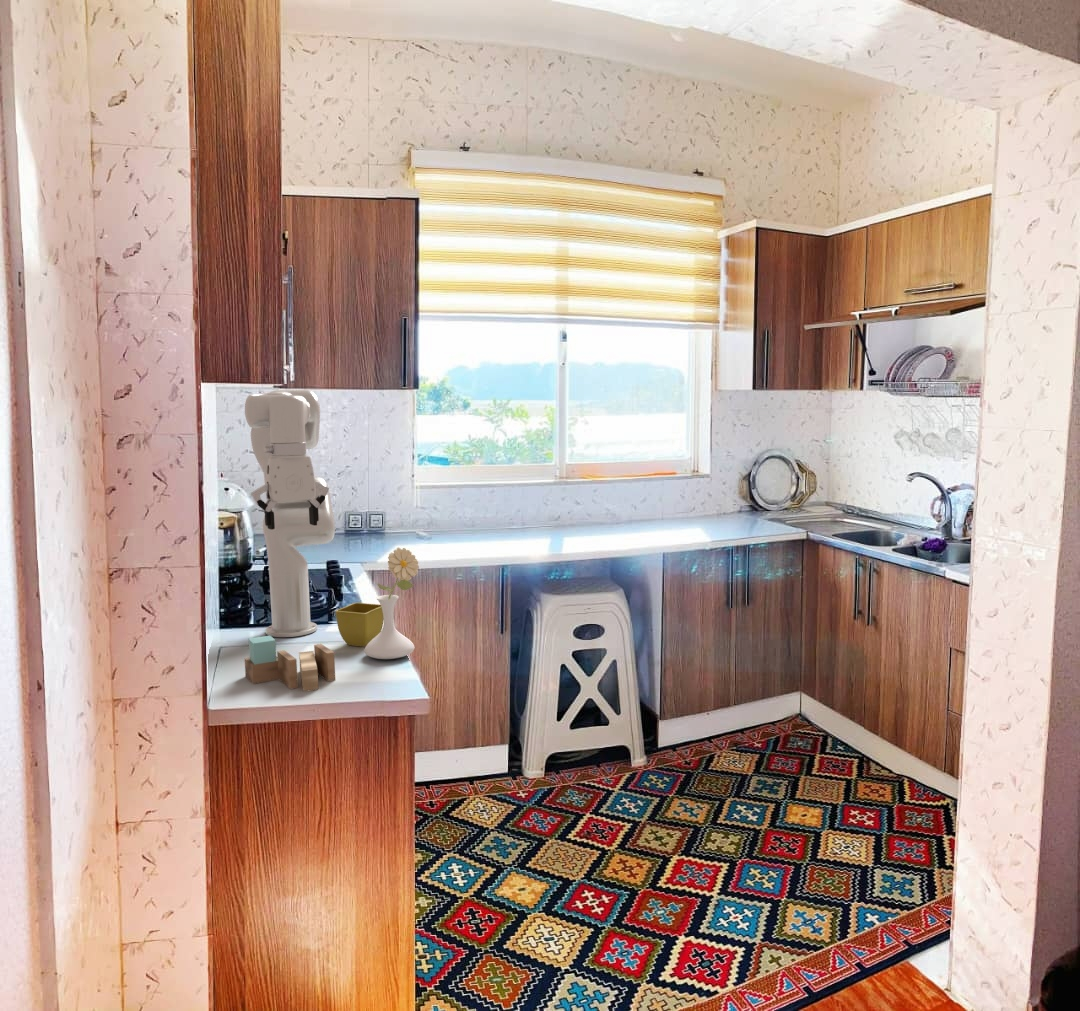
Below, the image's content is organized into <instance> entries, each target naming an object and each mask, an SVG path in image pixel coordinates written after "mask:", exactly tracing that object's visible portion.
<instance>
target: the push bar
mask: <svg viewBox="0 0 1080 1011" xmlns="http://www.w3.org/2000/svg"><path fill="white" fill-rule="evenodd" d="M298 656H299V671H300V679H301V686H302V691H303V692H309V691H308V690H311V691H316V690H315V689H319V677H318V676H319V674H318V670H317V665H316V660H315V652H314V650H309V651H308V650H307V651H299V652H298Z"/></svg>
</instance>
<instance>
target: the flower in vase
mask: <svg viewBox="0 0 1080 1011" xmlns="http://www.w3.org/2000/svg"><path fill="white" fill-rule="evenodd" d="M387 559H388V560H387V564H388V570H389V571H390V573H391V574H393V576H394V578H396V580H395V583H394V585H393V586H392V588H391V587H389V586H385V585H382V584H380V583H377V587H378V588H379V589H380V590H385V591H389V592H390V593H389V594H384V595H379V596H377V597H376V600H377V601H378V602H379V603H378V604H379V605H381V607H382V611H383V618H384V620H383V627H382V630H381V632H380V633H379V634H378V635H377V636H376V637H375V638H373V639H372V640H371V641H370V642H369V643H368V644H367V646H365V647H364V653H365V654H366V656H367V657H370V658H374V659H376V660H377V659H378V660H393V659H400V658H403V657H406V656H408V655H410V654H412V653H413V652H414V651H415V649H416V648H415V645H414V643H413V642H412V641H411V640H410V639H409V638H408V637H406V636H405V635H403V634H402V633H401V632H399V631H398V630H397V629H396V627H395V624H394V623H395V621H394V613H395V612H394V610H395V606H396V603H397V601H398V600H399V598H400V597H399V595H395V594H392V593H393V592H394V590H395V588H396V587H398V588H399V589H400V590H401V591H408V590H409V589H412V588H413V587H414V584H413V583H412V582H411V581H410V580H411V579H412V577H413V578H414V577H416V575H418V574H419V571H418V569H419V568H420V566H419V561H418V558H416V556H415V555H414V554H413V553H412V551H411V550H410V549H406V547H403V548H400V547H397V548H396V549H394V550H393V552H390V553H389V554H388V557H387ZM399 579H400V580H399ZM398 580H399V581H398Z"/></svg>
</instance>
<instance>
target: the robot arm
mask: <svg viewBox="0 0 1080 1011" xmlns="http://www.w3.org/2000/svg"><path fill="white" fill-rule="evenodd" d="M318 398H319V397H317V394H316V393H314V392H313V391H311V390H308V389H298V390H297V389H296V390H295V389H293V390H289V389H287V390H283V389H282V390H281V389H280V390H277V389H276V390H273V391H269V392H265V393H257V394H256V393H255V394H249V395H248V396H247V397H246V399H245V401H244V402H245V403H244V415H245V420H246V423H247V425H248V426H249V427H250V441H251V446H252V450H253V454H254V456H255V459H256V461H257V463H258V465H259V466H260V468H261V470H262V472H263V478H264V484H263V485H261V486H260V487H258V488H256V489H255V490H252V491H251V493H250V496H251V497H252V499H253V500H254V502H255V504H256V506H259V508H261V509H262V511H264V518H263V521H262V530H263V531H262V532H263V536H264V541H265V545H266V552H267V562H268V572H269V573H268V575H269V576H268V577H269V593H270V594H269V595H270V610H271V625H269V626H267V627H266V628H265V634H266V635H267V636H271V637H272V638H273V637H275V638H294V637H300V636H301V637H302V636H305V635H306V636H307V635H309V634H312V633H314V632H316V631H317V630H318V624H317V623H315V622H312V621H311V608H310V607H311V606H310V604H311V603H310V584H309V565H308V562H307V559H306V558H305V556H304V555H303V554H302V553H301V552H300V550H298V549H297V547H302V546H315V545H325V544H329V543H331V542H332V541H333V539H334V537H335V534H336V533H335V532H336V526H335V518H334V511H333V505H332V500H331V493H330V489H329V486H328V483H327V482H326V480H325V479H324V478H322V477H320V476H319V477H318V476H315V472H314V467H313V461H312V458H311V456H307V450H310V449H314V448H315V447H317V445H318V443H319V438H320V425H321V424H320V422H321V420H320V418H321V407H320V402H319V399H318ZM264 493H265V499H266V502H264V501H263V499H262V498H261V495H262V494H264Z"/></svg>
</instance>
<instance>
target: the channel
mask: <svg viewBox="0 0 1080 1011" xmlns="http://www.w3.org/2000/svg"><path fill="white" fill-rule="evenodd" d="M313 647H314V650H313V651H314V656H315V660H316V665H317V670H318V676H320V677H321V678H323V679H325V680H326V681H327V680H328V681H327V682H331V680H333V681H336V662H335V660H336V659H335V652H334V651H333V650H331V649H330V648H329V647H326V646H325V645H324V644H322V643H318V644H314V645H313ZM276 656H277V658H278V677H279V679H278V680H279V681H280V682H282V683H283V684H284V685H285V686H286V687H287V688H289V689H292V690H293V689H297V688H299V685H298V683H299V682H298V664H297V662H298V661H297V658H296V657H294V656H293V655H292V654H290V653H289V652H288V651H286V650H284V649H283V650H278V651H277V650H276Z"/></svg>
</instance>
